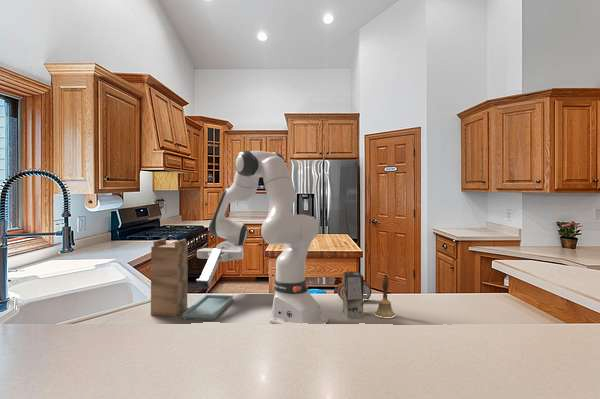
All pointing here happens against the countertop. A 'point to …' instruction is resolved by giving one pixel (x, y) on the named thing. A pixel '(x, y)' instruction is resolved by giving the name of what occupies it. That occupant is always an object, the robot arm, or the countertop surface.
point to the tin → (365, 291)
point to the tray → (208, 307)
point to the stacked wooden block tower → (169, 277)
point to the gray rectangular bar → (209, 269)
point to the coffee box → (353, 294)
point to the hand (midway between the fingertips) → (215, 257)
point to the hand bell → (385, 301)
